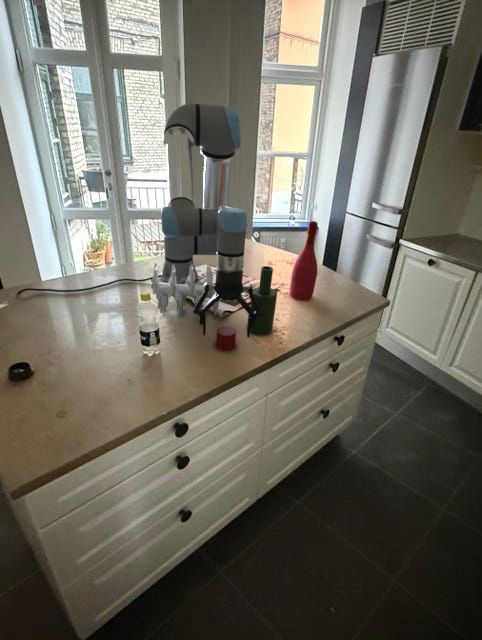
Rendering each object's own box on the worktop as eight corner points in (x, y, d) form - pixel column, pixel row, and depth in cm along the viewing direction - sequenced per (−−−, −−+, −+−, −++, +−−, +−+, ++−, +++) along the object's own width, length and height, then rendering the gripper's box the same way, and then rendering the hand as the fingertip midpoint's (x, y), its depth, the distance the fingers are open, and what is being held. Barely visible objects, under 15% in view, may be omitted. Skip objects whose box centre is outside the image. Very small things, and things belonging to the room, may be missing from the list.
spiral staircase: (222, 328, 134) (152, 324, 131) (222, 291, 143) (156, 286, 140) (228, 296, 119) (148, 290, 115) (227, 256, 127) (153, 249, 124)
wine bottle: (311, 292, 156) (325, 219, 139) (313, 302, 148) (328, 226, 131) (288, 290, 157) (299, 217, 140) (288, 300, 149) (300, 223, 132)
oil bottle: (249, 335, 124) (255, 272, 111) (247, 323, 131) (253, 262, 118) (273, 336, 124) (281, 273, 112) (270, 324, 131) (278, 264, 119)
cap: (215, 350, 115) (216, 335, 111) (216, 340, 119) (216, 325, 116) (235, 351, 115) (236, 336, 112) (234, 341, 120) (235, 326, 117)
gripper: (183, 270, 99) (184, 338, 111) (275, 275, 100) (267, 342, 112) (185, 261, 105) (186, 326, 117) (272, 266, 107) (265, 330, 118)
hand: (226, 334), depth 115 cm, fingers open, 13 cm apart
